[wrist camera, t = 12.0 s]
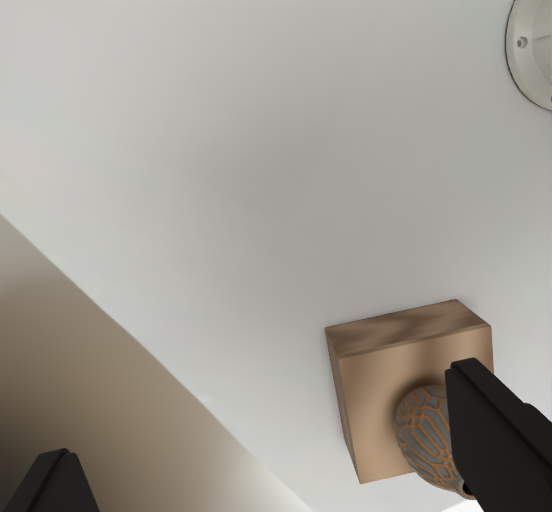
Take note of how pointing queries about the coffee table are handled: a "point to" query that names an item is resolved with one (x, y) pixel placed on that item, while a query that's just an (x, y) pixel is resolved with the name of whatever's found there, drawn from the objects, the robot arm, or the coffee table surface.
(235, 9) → the coffee table surface
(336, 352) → the walnut box
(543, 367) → the coffee table surface
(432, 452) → the vase
